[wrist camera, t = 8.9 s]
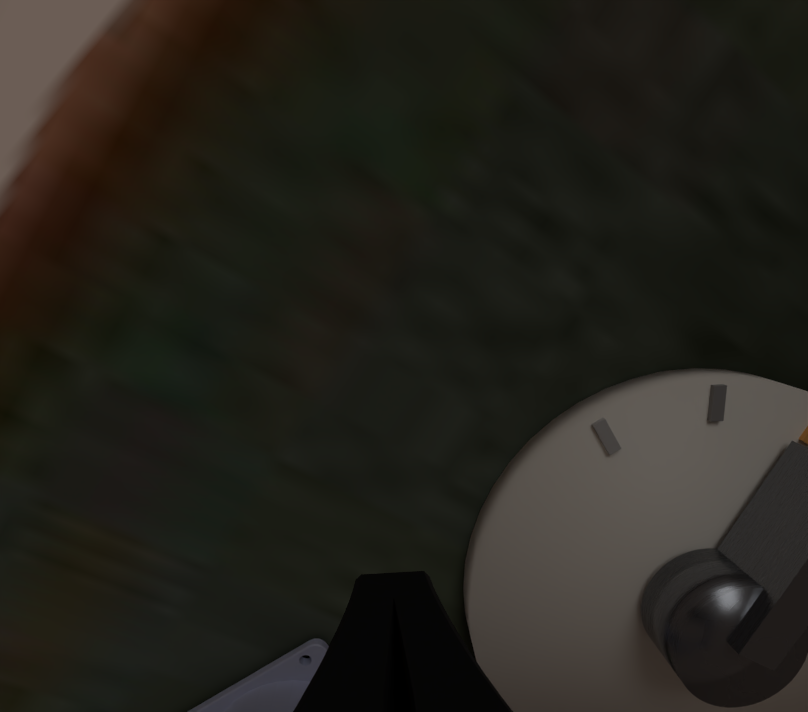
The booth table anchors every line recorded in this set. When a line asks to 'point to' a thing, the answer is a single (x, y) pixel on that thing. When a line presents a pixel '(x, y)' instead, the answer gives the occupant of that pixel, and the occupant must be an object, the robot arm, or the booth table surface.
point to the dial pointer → (740, 597)
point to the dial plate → (618, 536)
